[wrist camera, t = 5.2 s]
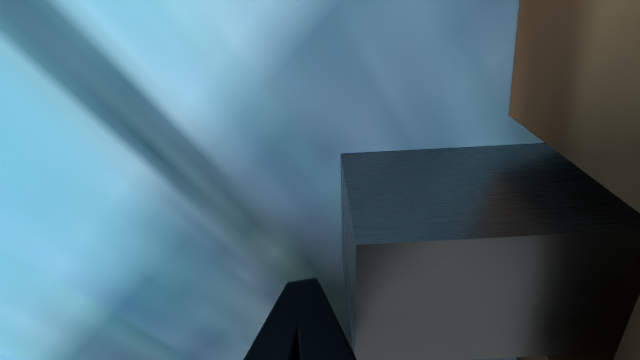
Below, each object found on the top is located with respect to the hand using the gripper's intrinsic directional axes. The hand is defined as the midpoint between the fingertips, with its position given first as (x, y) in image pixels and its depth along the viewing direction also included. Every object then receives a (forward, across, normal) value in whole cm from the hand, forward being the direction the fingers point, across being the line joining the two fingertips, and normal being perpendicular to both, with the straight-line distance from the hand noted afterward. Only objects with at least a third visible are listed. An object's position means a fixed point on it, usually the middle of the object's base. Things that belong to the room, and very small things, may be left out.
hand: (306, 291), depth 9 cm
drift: (+2, -6, 0) cm, 6 cm away
